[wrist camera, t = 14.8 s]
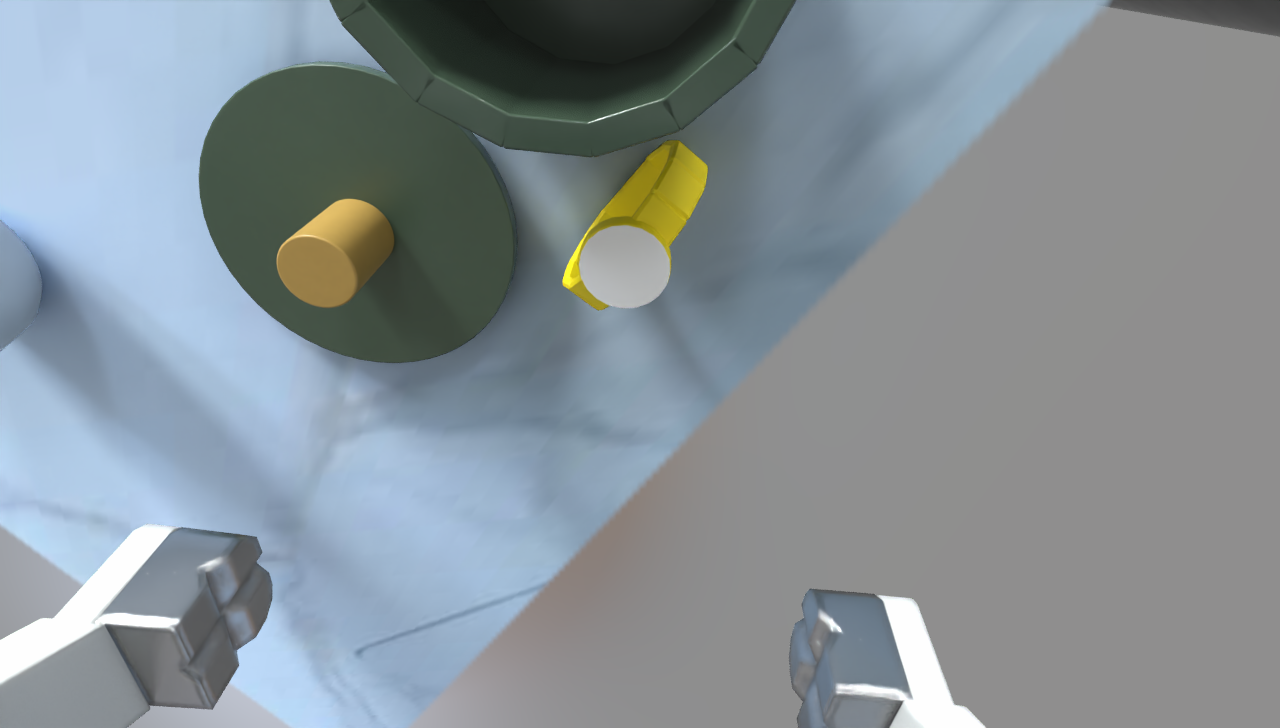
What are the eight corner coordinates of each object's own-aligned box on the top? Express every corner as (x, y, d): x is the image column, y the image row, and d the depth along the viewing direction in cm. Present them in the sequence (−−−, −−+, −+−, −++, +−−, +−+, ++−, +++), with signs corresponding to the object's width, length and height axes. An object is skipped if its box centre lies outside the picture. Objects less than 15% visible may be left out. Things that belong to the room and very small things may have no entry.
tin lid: (519, 76, 23) (487, 107, 19) (521, 360, 29) (496, 428, 25) (179, 41, 22) (74, 64, 19) (254, 334, 29) (188, 398, 25)
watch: (661, 106, 23) (657, 155, 18) (721, 159, 24) (733, 219, 19) (558, 232, 26) (530, 305, 21) (615, 276, 26) (602, 356, 21)
